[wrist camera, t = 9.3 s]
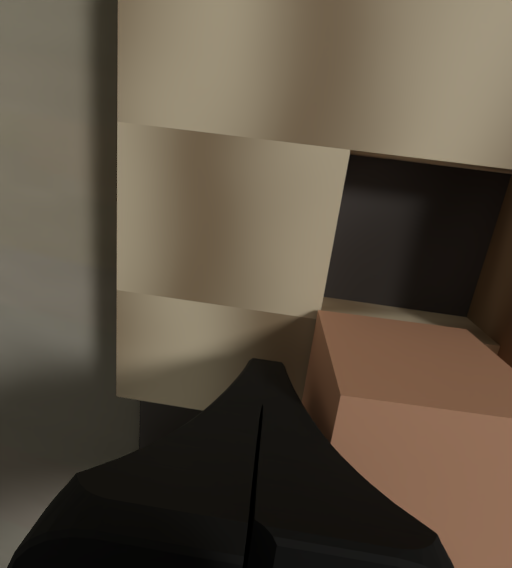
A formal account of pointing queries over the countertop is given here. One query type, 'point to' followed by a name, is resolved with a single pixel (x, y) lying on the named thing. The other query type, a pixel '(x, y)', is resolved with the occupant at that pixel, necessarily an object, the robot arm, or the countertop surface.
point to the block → (421, 424)
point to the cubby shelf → (304, 183)
